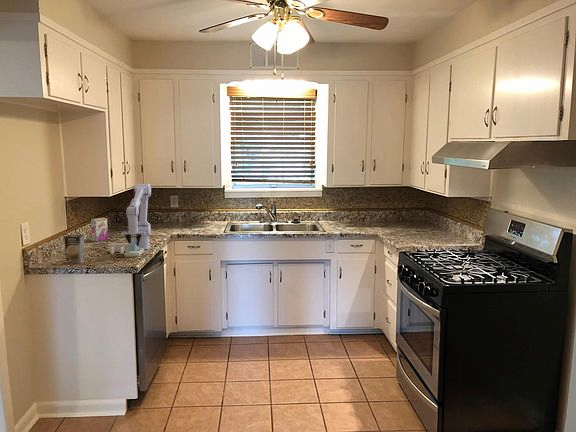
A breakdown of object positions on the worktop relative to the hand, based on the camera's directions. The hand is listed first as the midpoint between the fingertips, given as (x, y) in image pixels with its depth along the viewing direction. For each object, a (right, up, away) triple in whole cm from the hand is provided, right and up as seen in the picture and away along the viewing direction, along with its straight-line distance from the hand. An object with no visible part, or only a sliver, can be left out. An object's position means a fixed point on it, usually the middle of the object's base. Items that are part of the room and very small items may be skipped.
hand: (134, 246), depth 284 cm
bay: (-13, -4, +7) cm, 15 cm away
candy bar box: (-42, +1, +47) cm, 63 cm away
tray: (0, -5, +1) cm, 5 cm away
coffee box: (-28, -8, -20) cm, 35 cm away
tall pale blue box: (0, -2, -1) cm, 2 cm away
